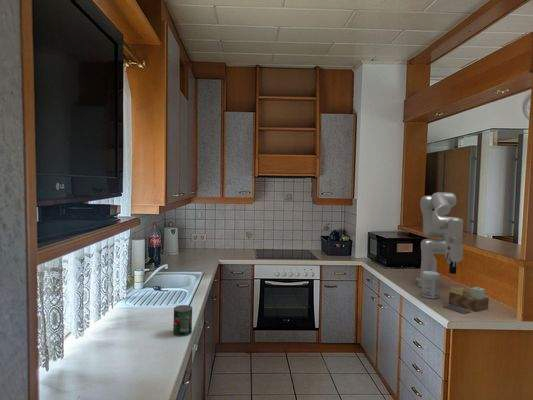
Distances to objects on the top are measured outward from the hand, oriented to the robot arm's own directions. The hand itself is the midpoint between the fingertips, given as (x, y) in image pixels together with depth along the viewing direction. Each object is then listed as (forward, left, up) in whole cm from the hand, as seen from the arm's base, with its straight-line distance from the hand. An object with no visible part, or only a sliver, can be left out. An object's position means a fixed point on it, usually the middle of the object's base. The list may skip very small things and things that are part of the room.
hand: (452, 273), depth 220 cm
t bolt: (0, +9, -13) cm, 15 cm away
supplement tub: (-17, +6, -19) cm, 27 cm away
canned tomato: (-34, -144, -19) cm, 149 cm away
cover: (+9, +11, -13) cm, 19 cm away
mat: (+5, -1, -19) cm, 20 cm away
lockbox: (+4, +11, -19) cm, 22 cm away
